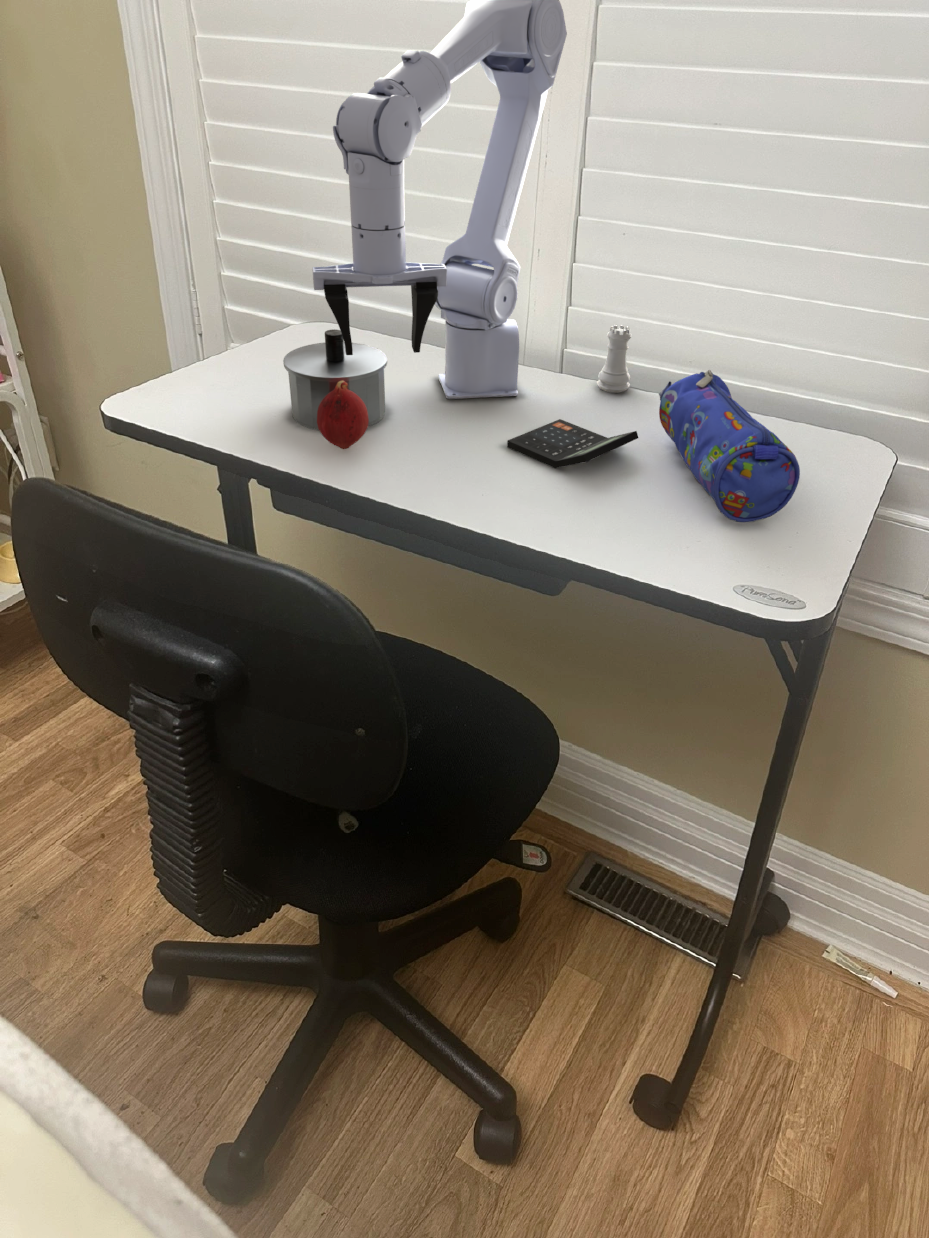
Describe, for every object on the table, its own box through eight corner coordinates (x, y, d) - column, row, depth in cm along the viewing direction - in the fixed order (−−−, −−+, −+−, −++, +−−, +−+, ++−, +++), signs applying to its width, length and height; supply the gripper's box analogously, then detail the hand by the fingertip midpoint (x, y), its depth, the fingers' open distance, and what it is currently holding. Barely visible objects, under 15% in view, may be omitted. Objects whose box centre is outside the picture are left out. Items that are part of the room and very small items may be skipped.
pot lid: (382, 348, 115) (381, 314, 112) (392, 384, 105) (391, 348, 102) (283, 352, 113) (280, 317, 110) (284, 388, 103) (280, 351, 101)
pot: (380, 394, 118) (378, 345, 114) (389, 429, 109) (387, 378, 105) (291, 397, 116) (287, 348, 112) (293, 434, 107) (288, 382, 103)
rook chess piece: (635, 385, 122) (643, 326, 117) (621, 396, 119) (628, 335, 114) (605, 378, 124) (611, 320, 119) (590, 388, 121) (597, 329, 116)
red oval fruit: (361, 462, 101) (357, 394, 96) (312, 457, 102) (306, 389, 97) (375, 441, 106) (373, 375, 101) (328, 436, 107) (324, 370, 102)
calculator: (559, 425, 111) (561, 402, 109) (635, 456, 104) (639, 432, 102) (507, 447, 105) (508, 423, 103) (584, 481, 99) (587, 455, 97)
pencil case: (649, 439, 108) (661, 361, 102) (719, 437, 109) (734, 359, 103) (710, 530, 90) (728, 442, 85) (792, 527, 91) (816, 439, 85)
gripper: (310, 235, 91) (320, 365, 99) (451, 232, 93) (450, 360, 101) (308, 219, 97) (317, 344, 105) (441, 217, 99) (441, 339, 107)
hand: (382, 351), depth 103 cm, fingers open, 7 cm apart
